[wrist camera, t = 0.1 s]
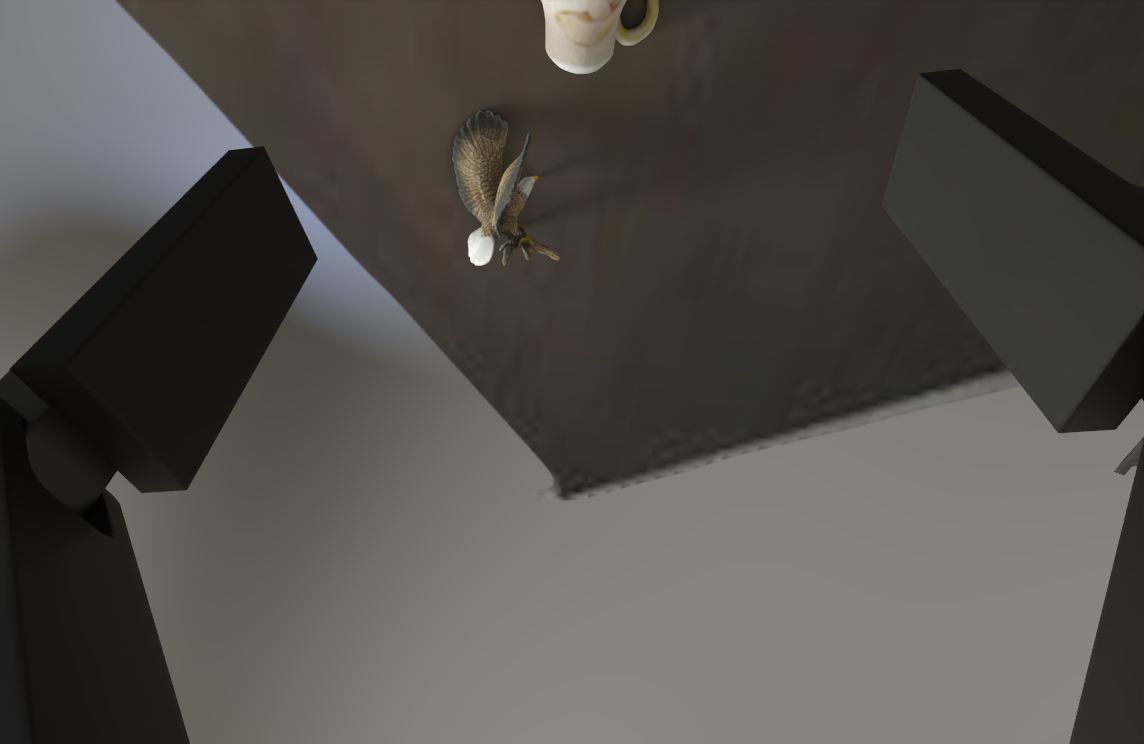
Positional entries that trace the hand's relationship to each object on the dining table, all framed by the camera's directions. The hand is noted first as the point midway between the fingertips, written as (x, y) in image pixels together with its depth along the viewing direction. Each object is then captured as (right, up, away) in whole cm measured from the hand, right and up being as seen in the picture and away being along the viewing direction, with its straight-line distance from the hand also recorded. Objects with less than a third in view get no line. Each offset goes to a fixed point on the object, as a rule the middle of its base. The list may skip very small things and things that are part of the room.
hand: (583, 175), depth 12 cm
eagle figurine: (-5, +10, +30) cm, 32 cm away
